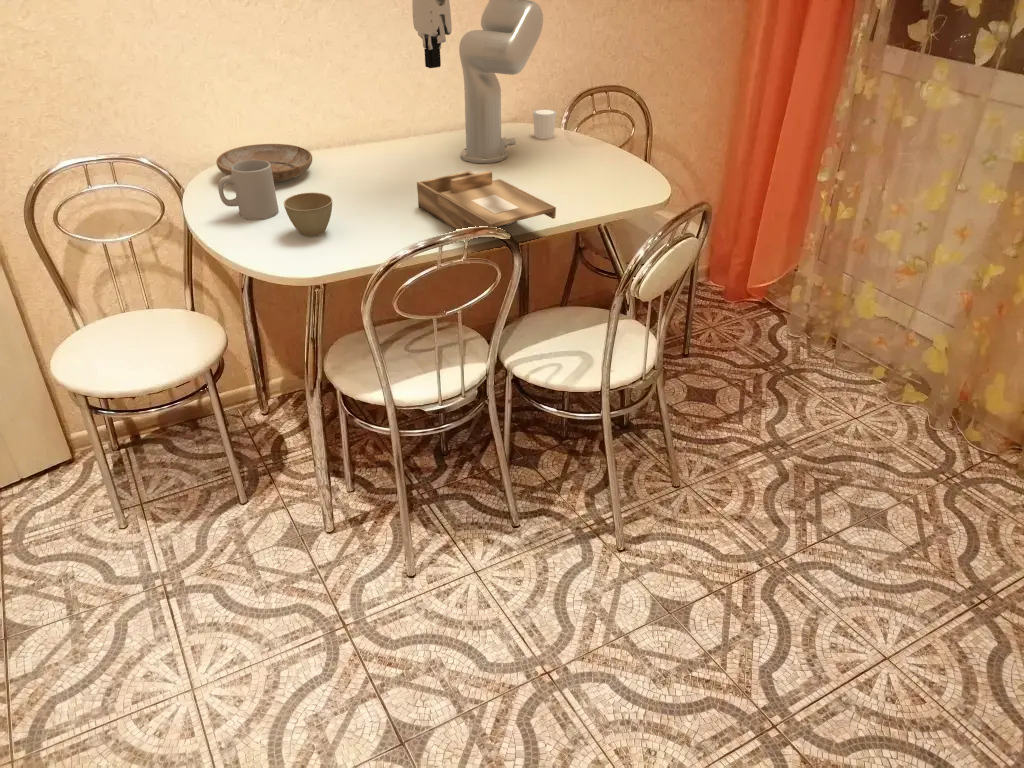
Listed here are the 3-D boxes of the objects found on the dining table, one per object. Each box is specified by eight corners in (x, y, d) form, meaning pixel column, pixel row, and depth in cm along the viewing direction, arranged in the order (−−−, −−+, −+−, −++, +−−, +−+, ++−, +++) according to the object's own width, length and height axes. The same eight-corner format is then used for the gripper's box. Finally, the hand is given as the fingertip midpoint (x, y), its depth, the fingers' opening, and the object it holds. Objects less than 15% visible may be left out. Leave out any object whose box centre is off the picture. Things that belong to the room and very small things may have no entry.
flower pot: (279, 237, 164) (273, 205, 160) (307, 220, 172) (302, 189, 168) (318, 245, 161) (313, 212, 157) (345, 228, 169) (341, 196, 165)
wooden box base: (469, 195, 186) (469, 170, 182) (517, 222, 172) (517, 196, 169) (418, 207, 179) (416, 182, 176) (464, 236, 165) (463, 209, 162)
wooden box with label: (499, 189, 176) (499, 167, 173) (555, 218, 162) (556, 195, 159) (438, 203, 168) (437, 181, 165) (490, 235, 154) (490, 211, 151)
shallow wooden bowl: (235, 198, 184) (230, 178, 181) (209, 170, 200) (205, 151, 197) (327, 181, 194) (325, 161, 191) (296, 156, 210) (293, 137, 208)
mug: (273, 203, 181) (265, 157, 174) (282, 216, 174) (274, 168, 168) (221, 212, 176) (210, 165, 170) (228, 225, 170) (217, 176, 163)
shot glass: (530, 139, 224) (531, 114, 220) (534, 132, 229) (534, 108, 226) (554, 140, 223) (555, 115, 219) (557, 133, 229) (558, 109, 225)
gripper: (461, -20, 165) (463, 71, 176) (426, -27, 175) (431, 59, 186) (430, -17, 162) (435, 75, 172) (397, -25, 172) (403, 63, 182)
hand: (433, 66), depth 179 cm, fingers closed
